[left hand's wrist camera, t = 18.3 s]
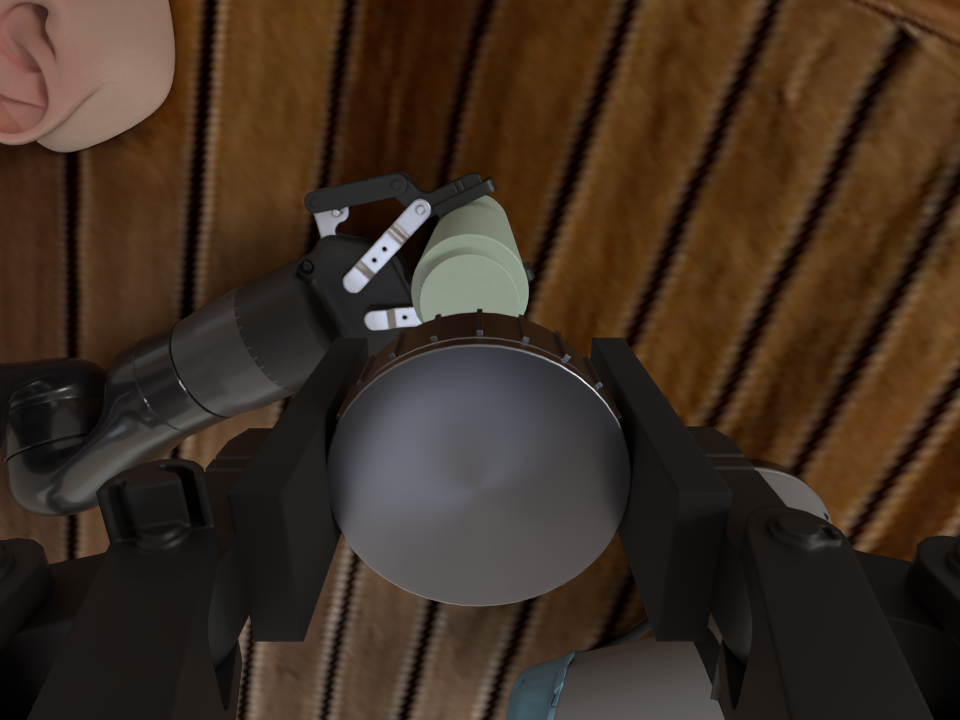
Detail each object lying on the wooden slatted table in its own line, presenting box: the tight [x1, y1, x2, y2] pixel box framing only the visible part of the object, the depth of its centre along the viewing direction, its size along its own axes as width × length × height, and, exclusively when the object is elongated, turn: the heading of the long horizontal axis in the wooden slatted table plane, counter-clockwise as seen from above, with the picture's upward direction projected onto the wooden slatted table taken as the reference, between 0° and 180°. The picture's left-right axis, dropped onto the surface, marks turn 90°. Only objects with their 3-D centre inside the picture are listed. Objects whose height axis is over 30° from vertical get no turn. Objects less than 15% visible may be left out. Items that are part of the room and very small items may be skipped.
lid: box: [326, 309, 632, 606], centre depth 11 cm, size 6×6×2 cm
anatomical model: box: [0, 0, 175, 152], centre depth 35 cm, size 13×4×12 cm
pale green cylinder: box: [411, 195, 528, 323], centre depth 32 cm, size 5×5×20 cm
